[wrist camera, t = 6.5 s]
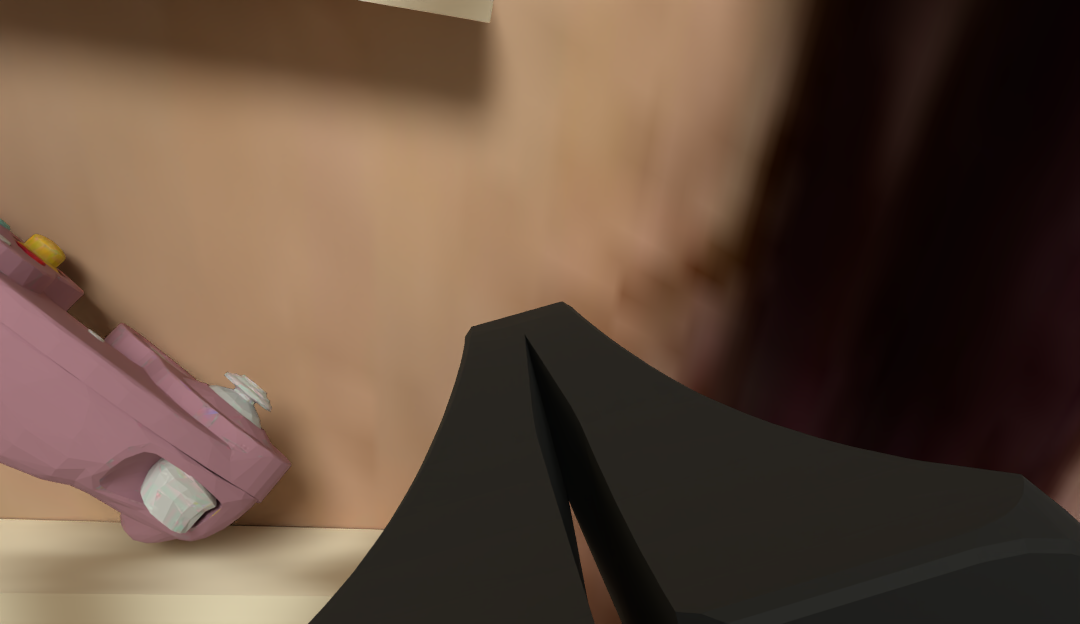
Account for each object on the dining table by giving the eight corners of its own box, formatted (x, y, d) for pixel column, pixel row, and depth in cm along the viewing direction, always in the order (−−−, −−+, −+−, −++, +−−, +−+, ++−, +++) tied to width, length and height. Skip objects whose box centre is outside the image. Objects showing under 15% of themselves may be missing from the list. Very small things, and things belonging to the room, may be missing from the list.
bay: (482, -47, 18) (499, -35, 15) (391, 557, 24) (394, 626, 22) (-355, -209, 14) (-484, -222, 12) (-192, 546, 21) (-257, 625, 19)
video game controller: (271, 394, 23) (356, 468, 17) (147, 532, 22) (192, 663, 16) (-72, 115, 19) (-120, 82, 13) (-252, 271, 17) (-396, 318, 12)
